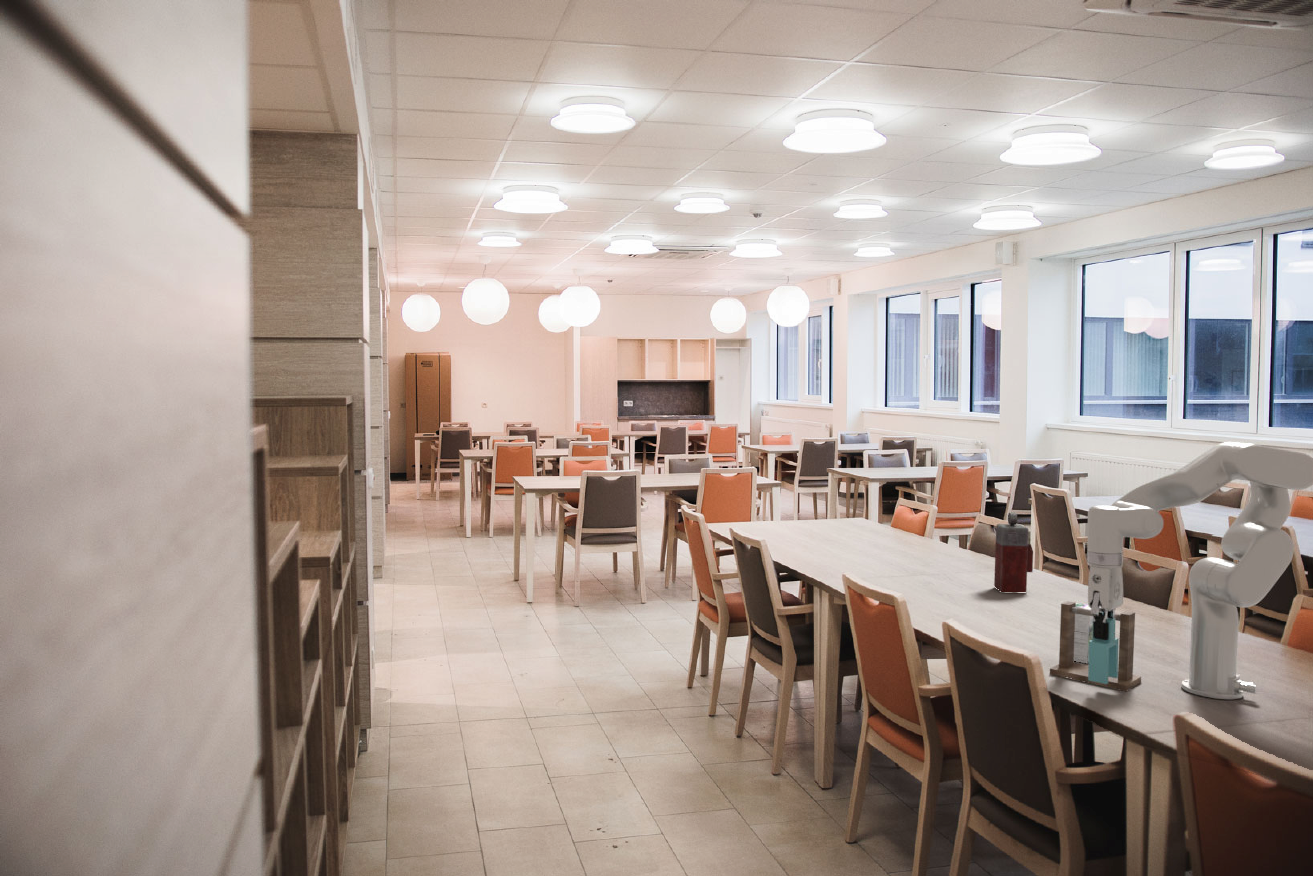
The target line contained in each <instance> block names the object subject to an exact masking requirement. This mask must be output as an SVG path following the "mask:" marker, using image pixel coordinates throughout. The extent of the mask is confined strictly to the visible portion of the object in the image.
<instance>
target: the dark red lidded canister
mask: <svg viewBox="0 0 1313 876" xmlns="http://www.w3.org/2000/svg"><path fill="white" fill-rule="evenodd" d="M1017 522H1018V514H1017V513H1016V512H1008V514H1007V523H998V524H997V523H996V526H995V548H994V549H995V551H994V552H995V553H994V554H995V555H994V578H993V579H994V582H993V583H994V584H993V585H994V586H995V587H996V588H997V589H999V591H1001V592H1026V593H1027V585H1028V573H1033V569H1034V568H1033V567H1034V565H1033V564H1034V563H1033V562H1034V550H1033V547H1032V544H1031V543H1029V528H1028V527H1026V526H1024V525H1022V524H1017ZM999 591H998V592H999Z"/></svg>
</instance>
